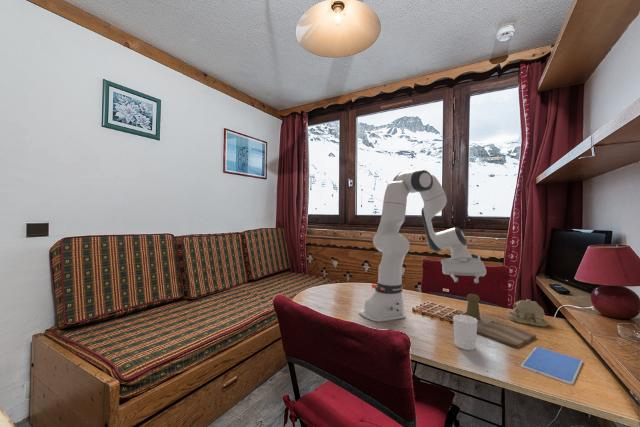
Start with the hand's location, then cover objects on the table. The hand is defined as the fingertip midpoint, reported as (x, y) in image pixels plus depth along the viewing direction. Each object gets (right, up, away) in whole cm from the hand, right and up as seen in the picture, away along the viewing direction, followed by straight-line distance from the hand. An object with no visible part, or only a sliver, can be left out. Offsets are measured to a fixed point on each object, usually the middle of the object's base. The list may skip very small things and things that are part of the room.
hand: (466, 281), depth 138 cm
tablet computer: (+2, -16, -48) cm, 51 cm away
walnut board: (+1, -15, -27) cm, 30 cm away
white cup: (-20, -15, -36) cm, 43 cm away
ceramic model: (+21, -15, -13) cm, 29 cm away
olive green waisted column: (-2, -15, -9) cm, 18 cm away
